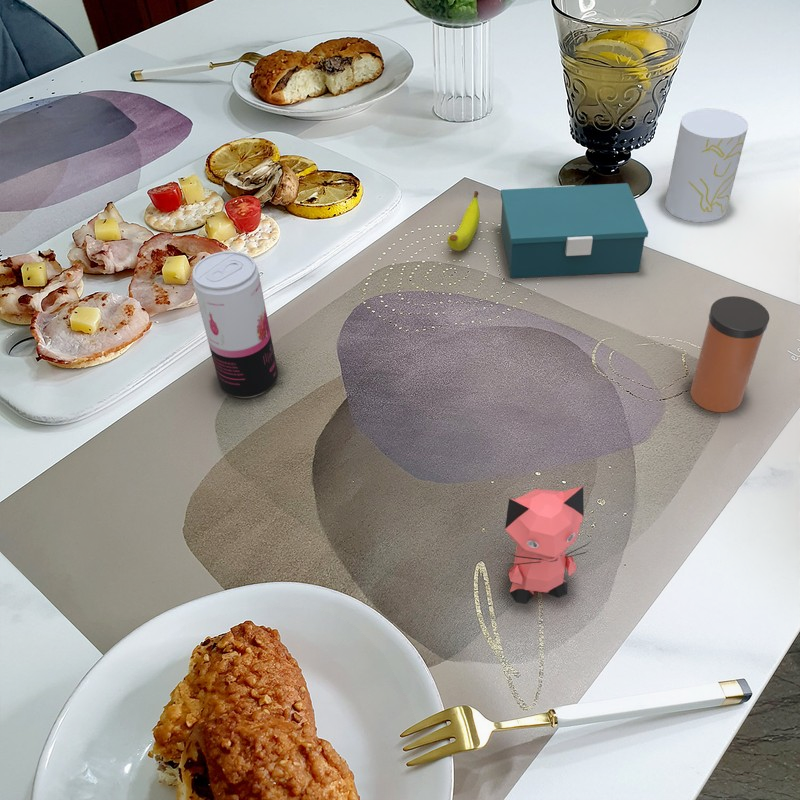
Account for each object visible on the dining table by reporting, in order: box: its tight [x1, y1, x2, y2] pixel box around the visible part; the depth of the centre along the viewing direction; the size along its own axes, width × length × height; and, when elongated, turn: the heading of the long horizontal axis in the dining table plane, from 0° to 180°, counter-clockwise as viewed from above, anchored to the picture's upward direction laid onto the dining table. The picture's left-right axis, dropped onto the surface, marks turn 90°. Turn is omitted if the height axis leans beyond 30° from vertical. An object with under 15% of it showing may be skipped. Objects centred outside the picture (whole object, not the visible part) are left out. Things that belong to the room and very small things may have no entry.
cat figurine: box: [504, 486, 593, 604], centre depth 71 cm, size 7×7×12 cm
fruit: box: [446, 190, 481, 252], centre depth 111 cm, size 10×2×5 cm, turn 159°
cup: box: [664, 108, 749, 223], centre depth 113 cm, size 8×8×12 cm
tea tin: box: [690, 295, 770, 413], centre depth 86 cm, size 5×5×11 cm
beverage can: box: [192, 250, 279, 399], centre depth 90 cm, size 7×7×15 cm
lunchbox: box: [500, 182, 649, 279], centre depth 109 cm, size 16×12×6 cm
